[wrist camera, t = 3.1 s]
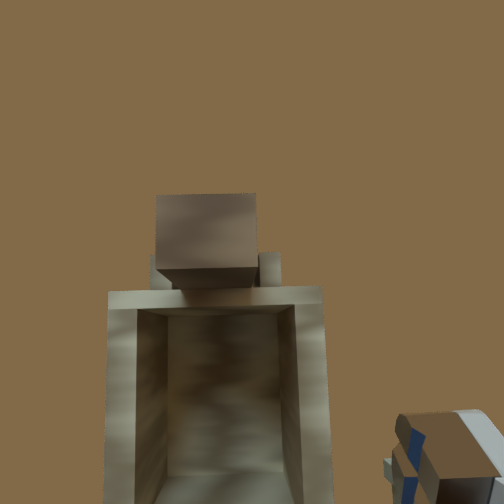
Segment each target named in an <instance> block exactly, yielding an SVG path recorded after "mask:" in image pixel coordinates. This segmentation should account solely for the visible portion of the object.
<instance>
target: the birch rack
mask: <svg viewBox="0 0 504 504" xmlns="http://www.w3.org/2000/svg"><path fill="white" fill-rule="evenodd" d="M280 263H281V262H280V252H267V253H266V252H265V253H259V255H258V269H257V272H256V275H255V278H254V282H253V285H252V288H219V289H182V290H180V289H179V288H178V287H177V286H175V285H174V284H173V283H172V282H170V281H169V280H168V279H167V278H165V277H164V276H163V275H162V274H161V273H159V272H158V271H157V270H156V269H155V255H151V256H150V290H145V291H109V294H108V332H107V333H108V334H107V372H106V408H105V446H104V487H103V504H334V487H333V471H332V452H331V437H330V418H329V401H328V385H327V384H328V383H327V366H326V350H325V331H324V314H323V297H322V286H295V287H282V285H281V264H280Z"/></svg>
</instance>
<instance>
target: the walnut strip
mask: <svg viewBox="0 0 504 504" xmlns="http://www.w3.org/2000/svg"><path fill="white" fill-rule="evenodd" d="M155 253H156V254H155V269H156V270H157V271H158V272H159V273H161V274H162V275H163V276H164V277H165V278H167V279H168V280H169V281H170V282H172V283H173V284H174V285H175V286H177V287H178V288H179V289H180V290H182V289H219V288H252V285H253V282H254V278H255V275H256V272H257V269H258V249H257V218H256V193H250V194H248V193H245V194H195V195H194V194H192V195H156V252H155Z"/></svg>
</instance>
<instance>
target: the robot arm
mask: <svg viewBox="0 0 504 504" xmlns="http://www.w3.org/2000/svg"><path fill="white" fill-rule="evenodd" d="M395 432H396V434H397V437H398V439H399V441H400V443H399V444H398V445H397V446H396V447H395V448H394V449H393V450H392V461H391V467H392V477H393V482H394V486H395V490H396V493H397V495H398V498H399V500H400V503H401V504H504V437H503V436H502V434H501V433H500V432H499V431H498V430H497V428H496V427H495V426H494V424H493V423H492V422H491V421H490V420H489V418H488V417H487V416H486V415H485V414H484V412H482V411H480V410H478V409H473V410H457V411H451V412H428V413H407V414H406V413H405V414H399V416H398V418H397V420H396V426H395Z"/></svg>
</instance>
